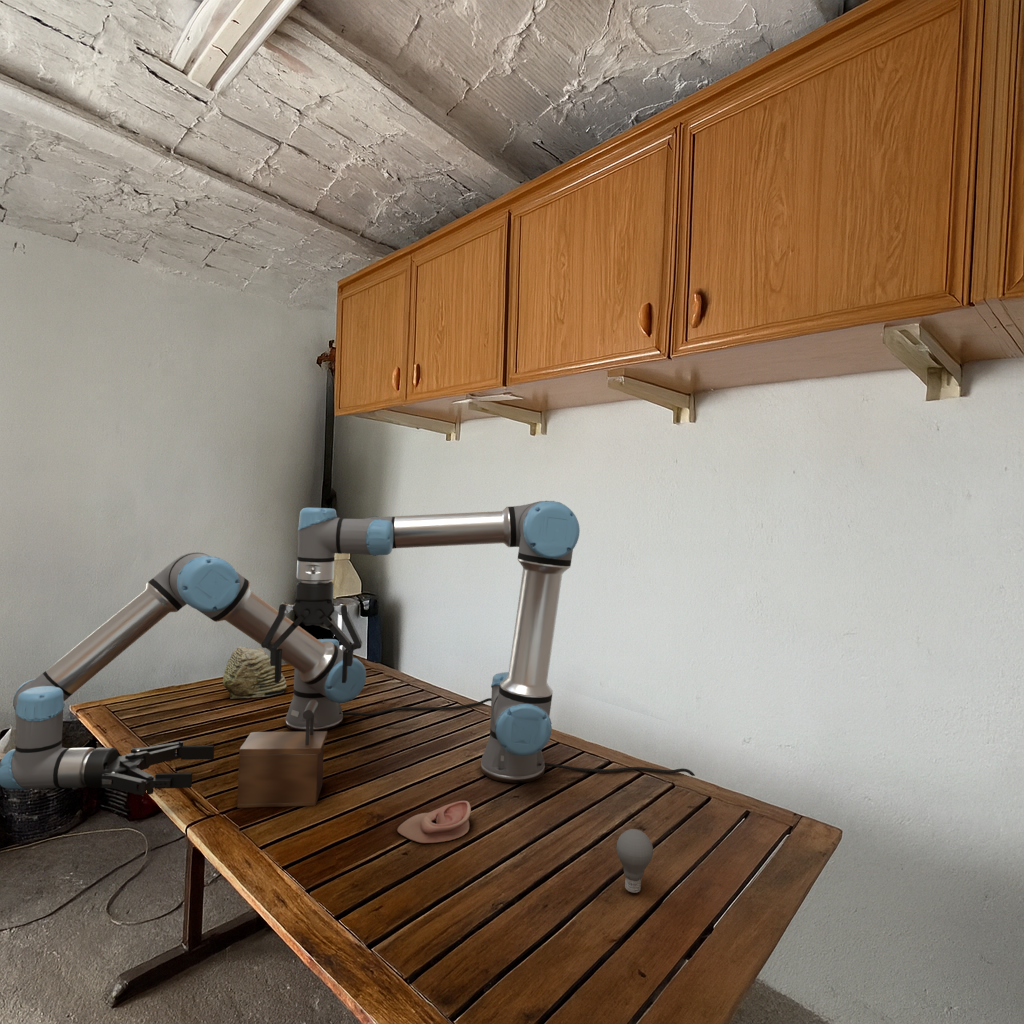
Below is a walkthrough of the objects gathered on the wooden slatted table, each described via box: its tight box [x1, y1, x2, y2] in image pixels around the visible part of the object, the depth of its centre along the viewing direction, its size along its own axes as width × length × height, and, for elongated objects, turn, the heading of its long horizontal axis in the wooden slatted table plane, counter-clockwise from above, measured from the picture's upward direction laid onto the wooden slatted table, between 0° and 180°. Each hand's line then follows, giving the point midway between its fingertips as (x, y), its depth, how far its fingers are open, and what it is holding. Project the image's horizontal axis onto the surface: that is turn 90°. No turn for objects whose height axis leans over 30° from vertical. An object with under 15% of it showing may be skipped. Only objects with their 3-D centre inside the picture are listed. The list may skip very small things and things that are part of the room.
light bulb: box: [615, 828, 654, 894], centre depth 106 cm, size 6×6×10 cm
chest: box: [236, 745, 325, 809], centre depth 133 cm, size 15×9×11 cm, turn 99°
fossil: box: [222, 646, 288, 699], centre depth 198 cm, size 9×18×15 cm, turn 132°
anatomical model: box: [396, 800, 472, 844], centre depth 123 cm, size 13×4×12 cm
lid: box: [238, 700, 328, 756], centre depth 133 cm, size 16×9×9 cm, turn 99°
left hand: (203, 765), depth 131 cm, fingers open, 13 cm apart
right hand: (311, 681), depth 134 cm, fingers open, 13 cm apart
